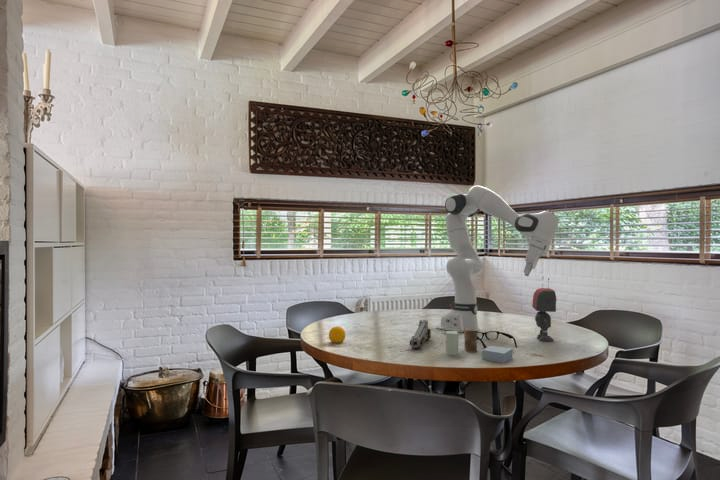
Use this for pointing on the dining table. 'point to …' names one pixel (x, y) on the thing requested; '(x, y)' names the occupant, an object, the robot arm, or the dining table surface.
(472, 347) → the walnut block
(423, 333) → the toy
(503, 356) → the slate pedestal
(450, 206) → the robot arm
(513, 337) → the glasses
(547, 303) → the toy robot
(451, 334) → the sage block
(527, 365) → the dining table surface
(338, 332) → the orange
